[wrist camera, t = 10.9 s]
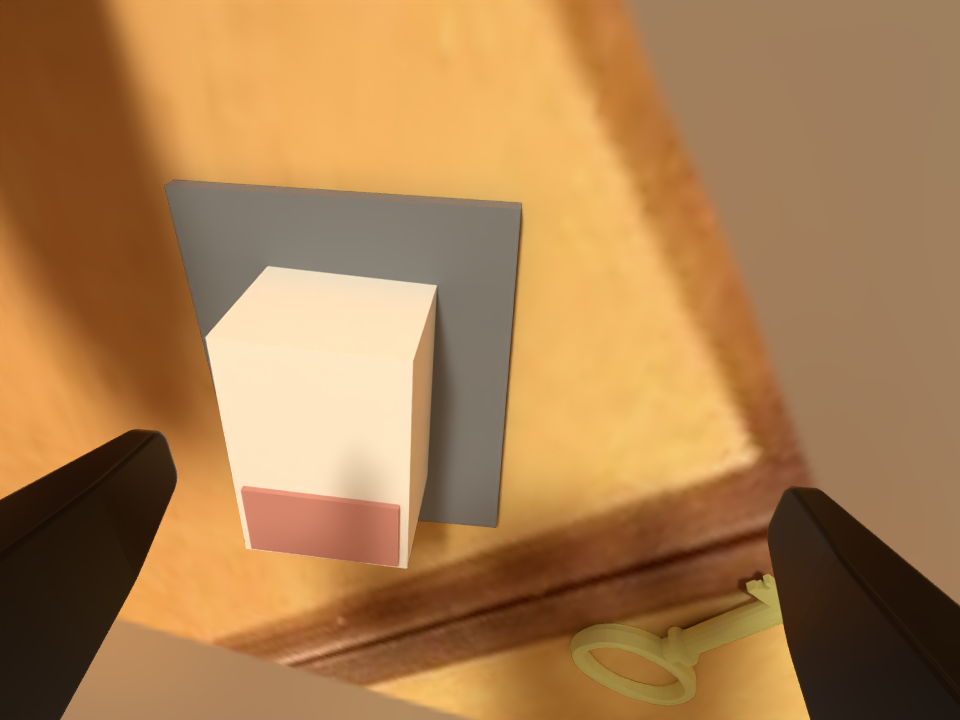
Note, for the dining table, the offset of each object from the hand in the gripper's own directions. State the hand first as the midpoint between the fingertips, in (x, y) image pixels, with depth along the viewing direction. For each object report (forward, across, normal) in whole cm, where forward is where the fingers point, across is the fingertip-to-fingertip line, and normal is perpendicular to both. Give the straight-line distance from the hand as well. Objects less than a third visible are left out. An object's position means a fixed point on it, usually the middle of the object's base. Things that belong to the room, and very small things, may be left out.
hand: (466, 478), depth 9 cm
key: (+13, -10, +21) cm, 27 cm away
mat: (+12, +5, +7) cm, 15 cm away
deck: (+11, +5, +7) cm, 14 cm away
